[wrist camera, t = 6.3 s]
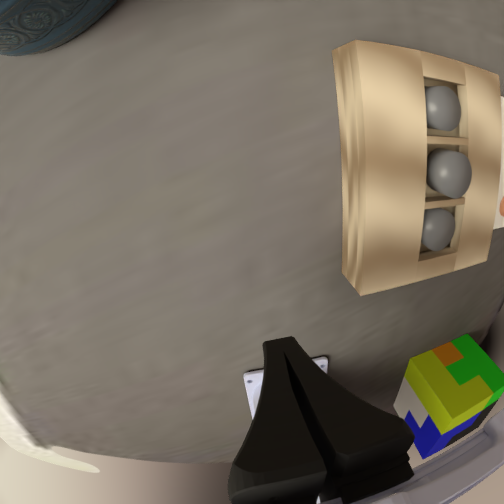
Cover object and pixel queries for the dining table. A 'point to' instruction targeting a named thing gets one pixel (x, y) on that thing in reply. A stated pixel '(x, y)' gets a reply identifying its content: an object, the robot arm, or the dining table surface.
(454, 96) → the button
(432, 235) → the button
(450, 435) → the puzzle toy
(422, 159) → the button board
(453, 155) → the middle button
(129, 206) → the dining table surface
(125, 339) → the dining table surface
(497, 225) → the card
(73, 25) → the canister
